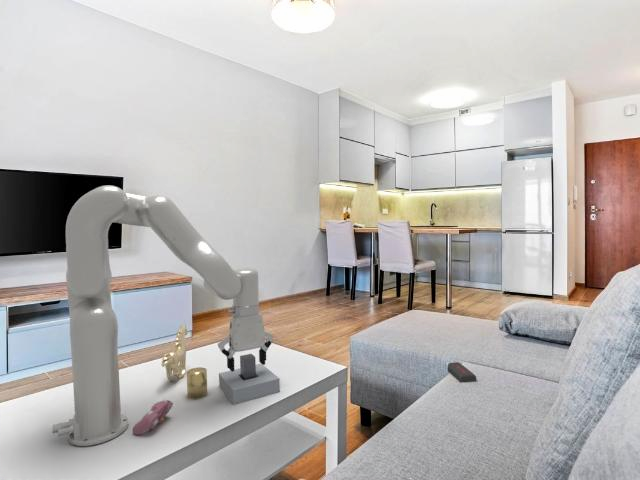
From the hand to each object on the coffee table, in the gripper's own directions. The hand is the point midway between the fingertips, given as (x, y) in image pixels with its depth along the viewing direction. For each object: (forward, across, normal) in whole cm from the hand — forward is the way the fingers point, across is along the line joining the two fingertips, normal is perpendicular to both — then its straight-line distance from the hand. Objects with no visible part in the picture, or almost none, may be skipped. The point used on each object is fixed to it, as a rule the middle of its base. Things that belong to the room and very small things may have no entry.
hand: (247, 366), depth 113 cm
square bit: (+7, 0, 0) cm, 7 cm away
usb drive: (+7, +61, -28) cm, 68 cm away
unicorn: (+7, -17, +20) cm, 27 cm away
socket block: (+7, 0, 0) cm, 7 cm away
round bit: (+7, -14, +5) cm, 16 cm away
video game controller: (+7, -27, -6) cm, 29 cm away
